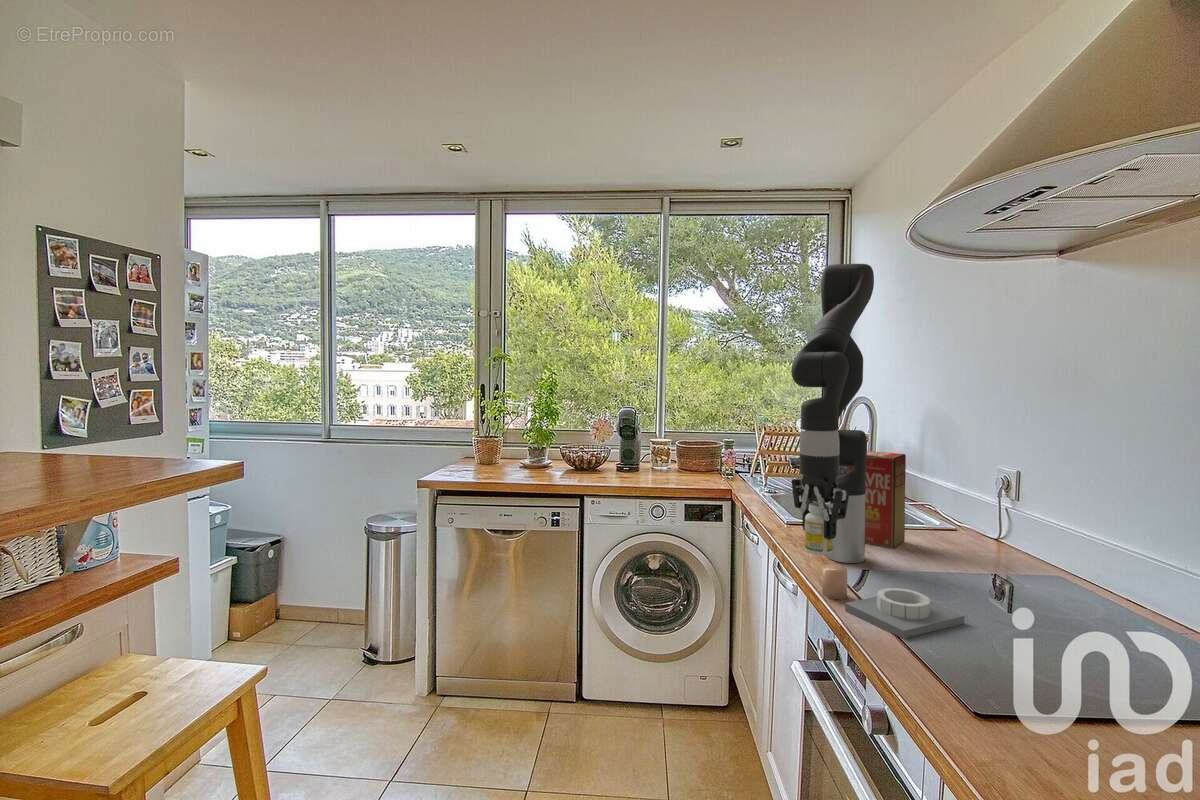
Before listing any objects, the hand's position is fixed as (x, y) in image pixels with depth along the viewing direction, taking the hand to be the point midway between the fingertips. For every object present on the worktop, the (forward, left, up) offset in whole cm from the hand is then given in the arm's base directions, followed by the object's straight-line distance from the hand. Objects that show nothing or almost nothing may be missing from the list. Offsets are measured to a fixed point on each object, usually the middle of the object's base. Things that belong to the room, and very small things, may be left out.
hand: (818, 534), depth 120 cm
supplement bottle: (0, 0, -4) cm, 4 cm away
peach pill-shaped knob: (-5, +9, -16) cm, 19 cm away
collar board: (+9, +13, -16) cm, 22 cm away
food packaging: (-31, +49, -16) cm, 60 cm away
